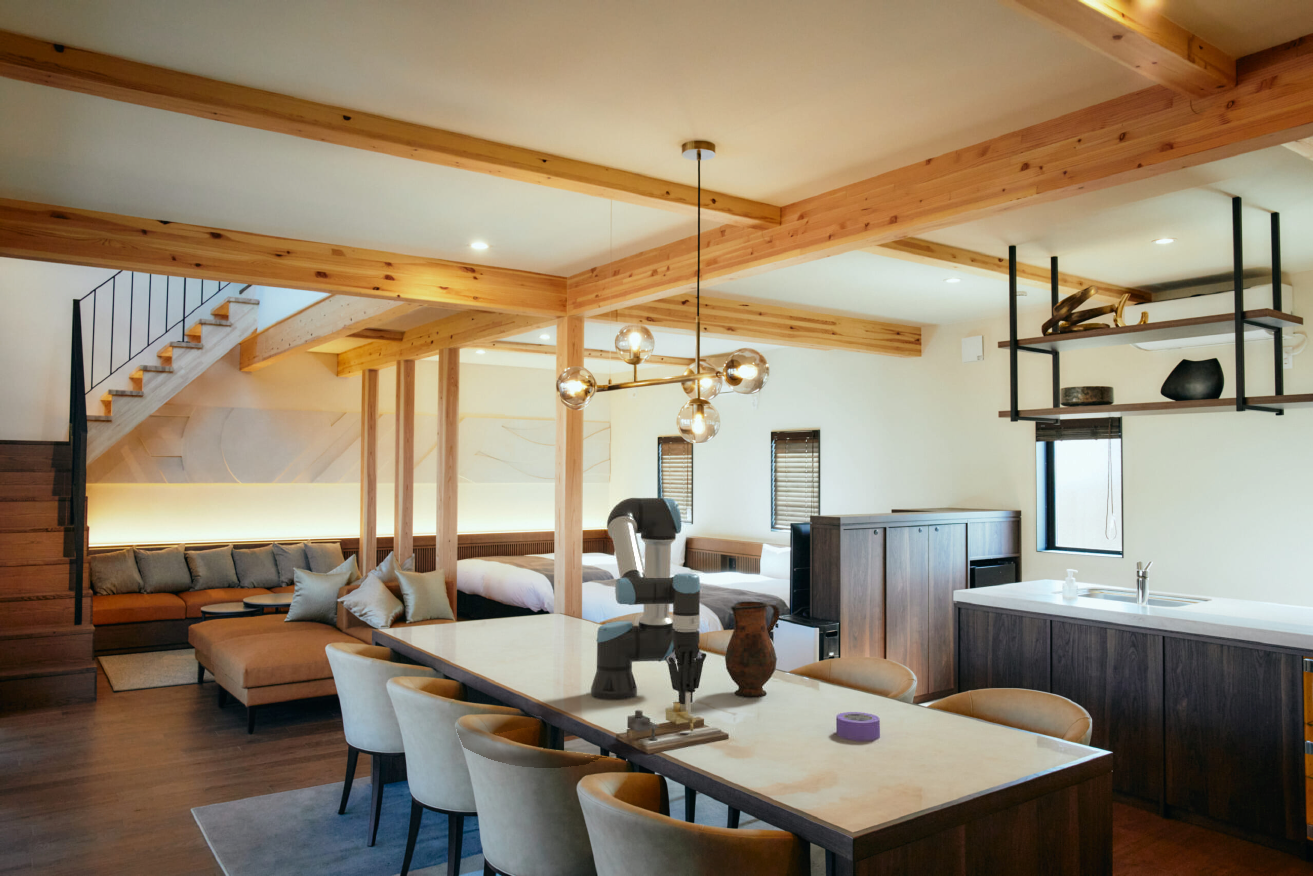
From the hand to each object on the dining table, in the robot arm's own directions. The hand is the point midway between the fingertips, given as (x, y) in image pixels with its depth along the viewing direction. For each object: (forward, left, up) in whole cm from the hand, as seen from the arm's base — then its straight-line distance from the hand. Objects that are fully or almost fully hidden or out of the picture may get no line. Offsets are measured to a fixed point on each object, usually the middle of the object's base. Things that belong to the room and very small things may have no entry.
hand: (685, 715), depth 236 cm
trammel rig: (+3, -6, -5) cm, 9 cm away
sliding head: (+3, -3, -2) cm, 5 cm away
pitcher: (-25, +47, -5) cm, 53 cm away
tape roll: (+27, +40, -5) cm, 48 cm away
